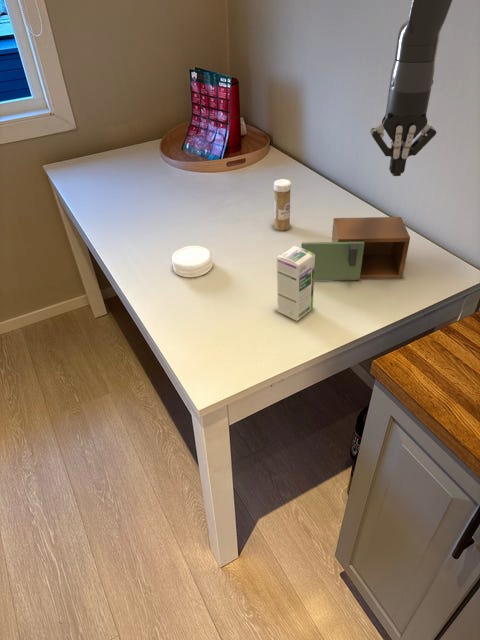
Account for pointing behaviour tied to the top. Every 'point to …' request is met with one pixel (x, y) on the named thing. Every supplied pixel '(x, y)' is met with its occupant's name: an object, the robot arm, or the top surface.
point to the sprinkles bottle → (282, 204)
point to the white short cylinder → (192, 261)
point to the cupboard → (376, 244)
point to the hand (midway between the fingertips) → (395, 174)
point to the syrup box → (295, 282)
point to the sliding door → (336, 259)
